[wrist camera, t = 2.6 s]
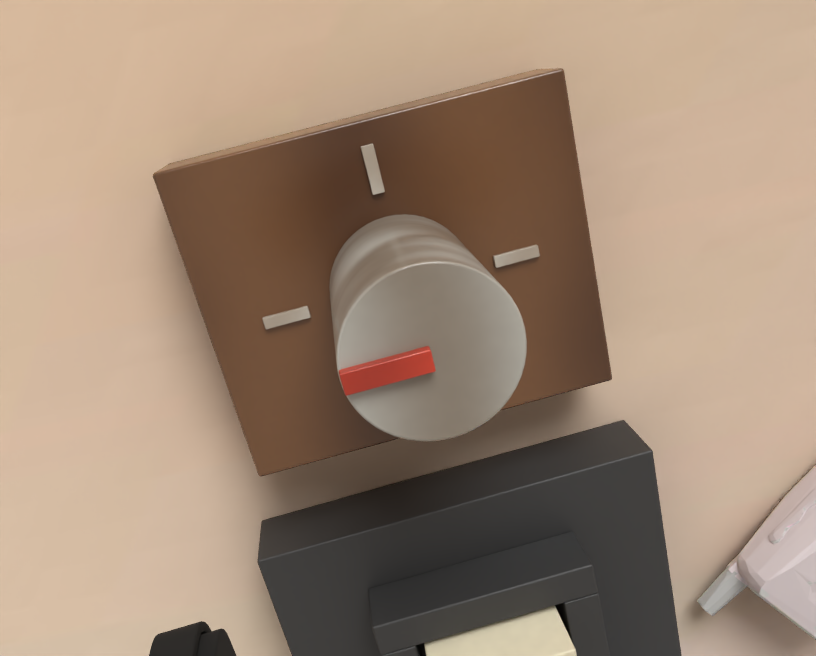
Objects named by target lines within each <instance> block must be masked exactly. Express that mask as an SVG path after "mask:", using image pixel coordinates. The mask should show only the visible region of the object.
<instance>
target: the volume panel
mask: <svg viewBox="0 0 816 656" xmlns="http://www.w3.org/2000/svg"><path fill="white" fill-rule="evenodd" d="M153 178H154V181H155V184H156V186H157V189H158V192H159V195H160V198H161V201H162V203H163V206H164V209H165V212H166V215H167V218H168V220H169V223H170V226H171V229H172V232H173V234H174V237H175V240H176V243H177V246H178V249H179V251H180V254H181V257H182V260H183V263H184V266H185V268H186V271H187V274H188V277H189V280H190V283H191V285H192V288H193V291H194V294H195V297H196V300H197V302H198V305H199V308H200V311H201V314H202V317H203V319H204V322H205V325H206V328H207V331H208V334H209V336H210V339H211V342H212V345H213V348H214V351H215V353H216V356H217V359H218V362H219V365H220V368H221V370H222V373H223V376H224V379H225V382H226V384H227V387H228V390H229V393H230V396H231V399H232V401H233V404H234V407H235V410H236V413H237V416H238V418H239V421H240V424H241V427H242V430H243V433H244V435H245V438H246V441H247V444H248V447H249V450H250V452H251V455H252V458H253V461H254V464H255V467H256V469H257V472H258V475H259V476H264V475H268V474H272V473H275V472H279V471H282V470H286V469H290V468H293V467H297V466H301V465H304V464H308V463H311V462H315V461H319V460H322V459H326V458H330V457H333V456H337V455H340V454H344V453H348V452H351V451H355V450H359V449H362V448H366V447H369V446H373V445H377V444H380V443H384V442H388V441H391V440H395V439H398V438H399V437H395V436H393V435H390V434H388V433H386V432H383V431H382V430H380V429H378V428H376V427H375V426H373V425H372V424H371V423H369V422H368V421H367V420H365V419H364V418H363V417H362V416H361V415H360V414H359V413H358V412H357V411H356V410H355V408H354V407H353V405H352V404H351V403H350V401H349V400H348V398H347V396H346V395H345V393H344V390H343V388H342V385H341V382H340V380H339V375H338V371H337V363H336V353H335V343H334V333H333V323H332V312H331V302H330V291H329V284H330V275H331V270H332V267H333V264H334V261H335V259H336V257H337V255H338V253H339V251H340V249H341V248H342V246H343V245H344V243H345V242H346V241H347V240H348V239H349V238H350V237H351V236H352V235H353V234H354V233H355V232H356V231H357V230H359V229H360V228H362V227H363V226H365V225H366V224H368V223H370V222H372V221H374V220H377V219H380V218H383V217H387V216H392V215H402V214H406V215H416V216H421V217H425V218H428V219H431V220H433V221H435V222H437V223H439V224H441V225H442V226H444V227H445V228H447V229H448V230H449V231H450V232H452V233H453V234H454V235H455V236H456V237H457V238H458V239H459V240H460V241H461V243H462V244H463V245H464V246H465V247H466V248H467V249H468V250H469V251H470V252H471V253H472V254H473V255H474V257H475V258H476V259H477V260H478V261H479V262H480V263H481V264H482V265H483V266H484V267H485V268H486V269H487V270H488V272H489V273H490V274H491V275H492V276H493V277H494V278H495V279H496V280H497V281H498V282H499V283H500V284H501V285H502V287H503V288H504V289H505V290H506V291H507V292H508V294H509V295H510V296H511V297H512V299H513V301H514V302H515V304H516V306H517V307H518V309H519V312H520V314H521V316H522V319H523V323H524V327H525V331H526V339H527V353H526V360H525V365H524V369H523V372H522V376H521V378H520V380H519V383H518V385H517V387H516V389H515V391H514V392H513V394H512V396H511V397H510V399H509V400H508V401H507V403H506V404H505V405H504V406H503V407H502V409H501V410H504V409H507V408H511V407H514V406H518V405H522V404H525V403H529V402H533V401H536V400H540V399H543V398H547V397H551V396H554V395H558V394H562V393H565V392H569V391H572V390H576V389H580V388H583V387H587V386H591V385H594V384H598V383H601V382H605V381H609V380H611V379H612V375H611V368H610V362H609V355H608V349H607V343H606V336H605V330H604V324H603V317H602V311H601V304H600V298H599V292H598V285H597V279H596V273H595V266H594V260H593V253H592V247H591V241H590V234H589V228H588V221H587V215H586V209H585V202H584V196H583V190H582V183H581V177H580V170H579V164H578V158H577V151H576V145H575V139H574V132H573V126H572V119H571V113H570V107H569V100H568V94H567V88H566V81H565V75H564V70H563V69H537V70H533V71H529V72H525V73H521V74H517V75H513V76H509V77H505V78H502V79H498V80H494V81H490V82H486V83H482V84H478V85H474V86H470V87H467V88H463V89H459V90H455V91H451V92H447V93H443V94H439V95H435V96H431V97H428V98H424V99H420V100H416V101H412V102H408V103H404V104H400V105H396V106H392V107H389V108H385V109H381V110H377V111H373V112H369V113H365V114H361V115H357V116H354V117H350V118H346V119H342V120H338V121H334V122H330V123H326V124H322V125H318V126H315V127H311V128H307V129H303V130H299V131H295V132H291V133H287V134H283V135H279V136H276V137H272V138H268V139H264V140H260V141H256V142H252V143H248V144H244V145H240V146H237V147H233V148H229V149H225V150H221V151H217V152H213V153H209V154H205V155H202V156H198V157H194V158H190V159H186V160H182V161H178V162H174V163H170V164H168V165H167V166H165V167H163V168H162V169H160V170H159V171H157V172H155V173H154V174H153Z"/></svg>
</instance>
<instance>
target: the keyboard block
mask: <svg viewBox="0 0 816 656" xmlns="http://www.w3.org/2000/svg"><path fill="white" fill-rule="evenodd" d="M258 565H259V568H260V570H261V573H262V576H263V578H264V581H265V584H266V586H267V589H268V592H269V594H270V597H271V600H272V603H273V605H274V608H275V611H276V613H277V616H278V619H279V621H280V624H281V627H282V629H283V632H284V635H285V638H286V640H287V643H288V646H289V648H290V651H291V654H292V656H426V652H425V647H424V643H426V642H429V641H433V640H436V639H440V638H443V637H447V636H450V635H454V634H457V633H460V632H464V631H467V630H471V629H474V628H478V627H481V626H485V625H488V624H492V623H495V622H499V621H502V620H506V619H509V618H513V617H516V616H519V615H523V614H526V613H530V612H533V611H537V610H540V609H544V608H547V607H551V606H554V605H555V607H556V609H557V611H558V613H559V615H560V617H561V619H562V622H563V624H564V626H565V628H566V630H567V632H568V634H569V637H570V639H571V641H572V643H573V645H574V647H575V649H576V654H577V656H681V649H680V642H679V635H678V628H677V621H676V614H675V607H674V600H673V593H672V586H671V579H670V572H669V565H668V557H667V550H666V543H665V536H664V529H663V522H662V515H661V508H660V501H659V494H658V487H657V480H656V473H655V466H654V459H653V451H652V450H651V449H650V448H649V447H648V446H647V444H646V443H645V442H644V441H643V440H642V439H641V438H640V437H639V436H638V435H637V434H636V433H635V431H634V430H633V429H632V428H631V427H630V426H629V425H628V424H627V423H626V422H625V421H624V420H622V421H619V422H615V423H611V424H608V425H604V426H601V427H597V428H593V429H590V430H586V431H583V432H579V433H575V434H572V435H568V436H565V437H561V438H558V439H554V440H550V441H547V442H543V443H540V444H536V445H532V446H529V447H525V448H522V449H518V450H514V451H511V452H507V453H504V454H500V455H496V456H493V457H489V458H486V459H482V460H479V461H475V462H471V463H468V464H464V465H461V466H457V467H453V468H450V469H446V470H443V471H439V472H435V473H432V474H428V475H425V476H421V477H417V478H414V479H410V480H407V481H403V482H400V483H396V484H392V485H389V486H385V487H382V488H378V489H374V490H371V491H367V492H364V493H360V494H356V495H353V496H349V497H346V498H342V499H338V500H335V501H331V502H328V503H324V504H321V505H317V506H313V507H310V508H306V509H303V510H299V511H295V512H292V513H288V514H285V515H281V516H277V517H274V518H270V519H267V520H263V521H262V524H261V534H260V543H259V553H258Z"/></svg>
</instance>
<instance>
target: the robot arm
mask: <svg viewBox="0 0 816 656" xmlns="http://www.w3.org/2000/svg"><path fill="white" fill-rule="evenodd" d="M149 656H236V654H235V651H234V649H233V646H232V644H231V641H230V639H229V637H228V635H227V633H226V631H225V630H224V629H219V630H215V631H211V630H210V628H209V626H208V625H207V624H206V623H205V622H202V621H201V622H198V623H195V624H191V625H188V626H184V627H181V628H178V629H174V630H171V631H167V632H164V633H161V634H158V635H157V636H156V637H155V638H154V640H153V643H152V646H151V650H150V654H149Z"/></svg>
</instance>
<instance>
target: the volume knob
mask: <svg viewBox="0 0 816 656" xmlns="http://www.w3.org/2000/svg"><path fill="white" fill-rule="evenodd" d="M329 291H330V302H331V312H332V323H333V333H334V343H335V353H336V363H337V371H338V375H339V380H340V382H341V385H342V388H343V390H344V393H345V395H346V396H347V398H348V400H349V401H350V403H351V404H352V405H353V407H354V408H355V410H356V411H357V412H358V413H359V414H360V415H361V416H362V417H363V418H364V419H365V420H367V421H368V422H369V423H371V424H372V425H373V426H375V427H376V428H378V429H380V430H382V431H383V432H386V433H388V434H390V435H393V436H395V437H399V438H403V439H406V440H413V441H428V442H430V441H441V440H446V439H451V438H455V437H458V436H461V435H463V434H466V433H468V432H470V431H472V430H474V429H476V428H478V427H479V426H481V425H483V424H484V423H486V422H487V421H488V420H490V419H491V418H492V417H493V416H495V415H496V414H497V413H498V412H499V411H500V410H501V409H502V407H503V406H504V405H505V404H506V403H507V401H508V400H509V399H510V397H511V396H512V394H513V392H514V391H515V389H516V387H517V385H518V383H519V380H520V378H521V376H522V372H523V369H524V365H525V360H526V353H527V339H526V331H525V327H524V323H523V319H522V316H521V314H520V312H519V309H518V307H517V306H516V304H515V302H514V301H513V299H512V297H511V296H510V295H509V294H508V292H507V291H506V290H505V289H504V288H503V287H502V285H501V284H500V283H499V282H498V281H497V280H496V279H495V278H494V277H493V276H492V275H491V274H490V273H489V272H488V270H487V269H486V268H485V267H484V266H483V265H482V264H481V263H480V262H479V261H478V260H477V259H476V258H475V257H474V255H473V254H472V253H471V252H470V251H469V250H468V249H467V248H466V247H465V246H464V245H463V244H462V243H461V241H460V240H459V239H458V238H457V237H456V236H455V235H454V234H453V233H452V232H450V231H449V230H448V229H447V228H445V227H444V226H442V225H441V224H439V223H437V222H435V221H433V220H431V219H428V218H425V217H421V216H416V215H406V214H402V215H392V216H387V217H383V218H380V219H377V220H374V221H372V222H370V223H368V224H366V225H365V226H363V227H362V228H360V229H359V230H357V231H356V232H355V233H354V234H353V235H352V236H351V237H350V238H349V239H348V240H347V241H346V242H345V243H344V245H343V246H342V248H341V249H340V251H339V253H338V255H337V257H336V259H335V261H334V264H333V267H332V270H331V275H330V284H329Z"/></svg>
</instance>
